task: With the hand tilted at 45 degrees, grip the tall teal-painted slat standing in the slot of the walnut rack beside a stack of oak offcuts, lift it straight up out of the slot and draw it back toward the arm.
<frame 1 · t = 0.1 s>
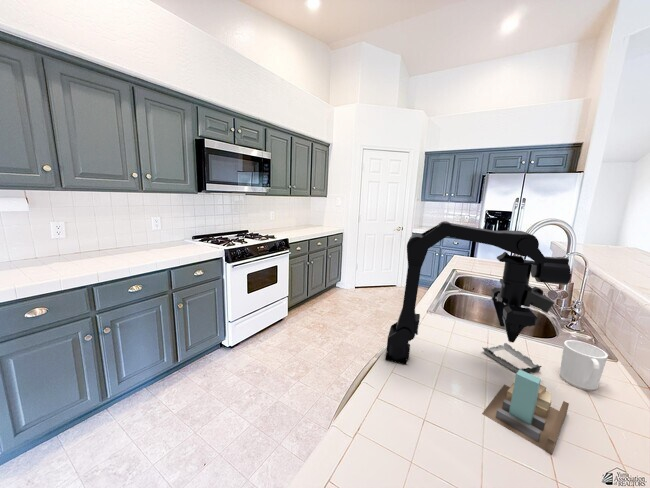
hand: (506, 333, 74), 15 cm above the countertop, tool pointing down, fingers open, 9 cm apart
slat: (519, 422, 62), point 1 cm above the countertop, touching rack
mug: (579, 384, 77), on the countertop
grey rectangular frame: (509, 363, 86), on the countertop
rack: (518, 425, 62), on the countertop
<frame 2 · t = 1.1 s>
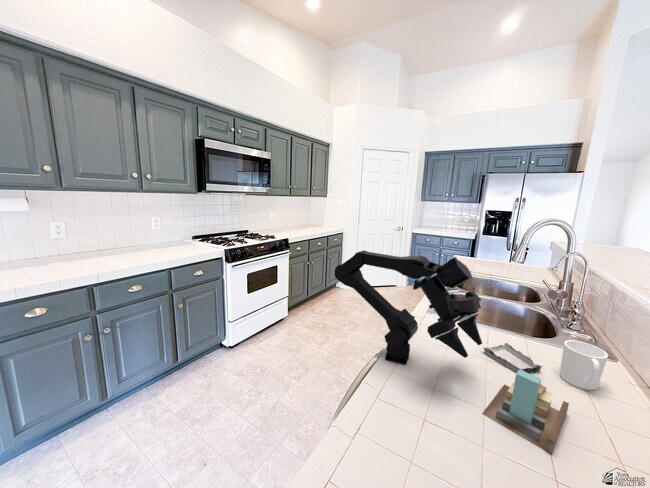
hand: (473, 350, 70), 12 cm above the countertop, tool tilted 45°, fingers open, 9 cm apart
nothing on the countertop moved.
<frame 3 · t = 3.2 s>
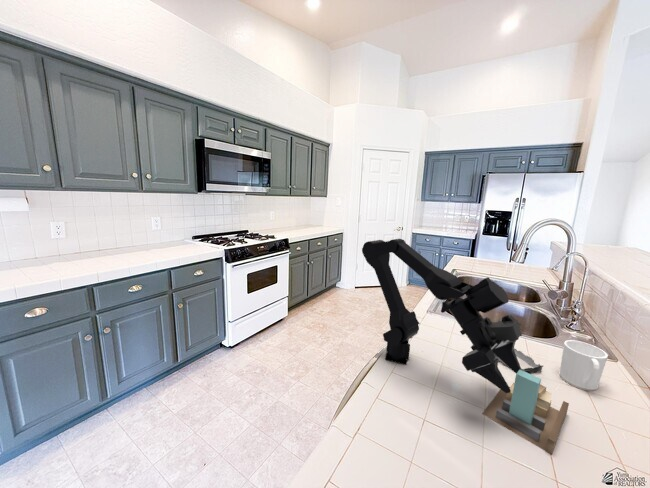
hand: (515, 383, 62), 10 cm above the countertop, tool tilted 45°, fingers open, 9 cm apart
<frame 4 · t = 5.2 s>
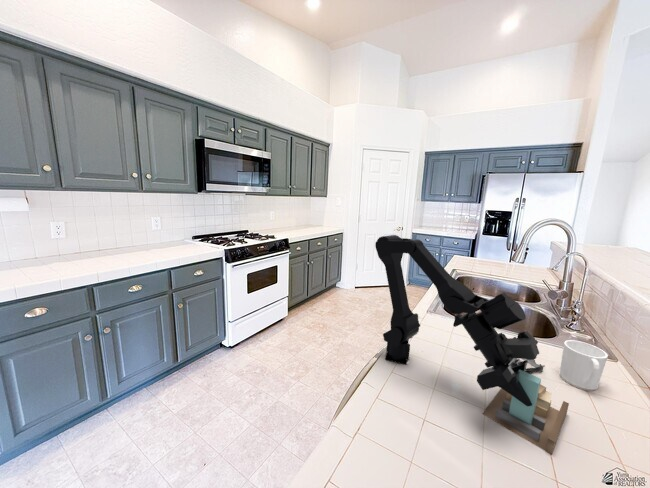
hand: (531, 402, 60), 7 cm above the countertop, tool tilted 45°, fingers closed on slat, 2 cm apart
slat: (519, 422, 62), point 1 cm above the countertop, touching gripper, rack
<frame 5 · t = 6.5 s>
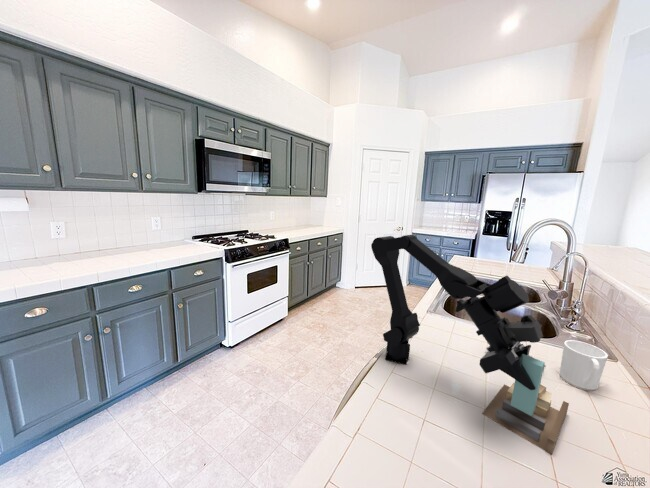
hand: (535, 386, 59), 11 cm above the countertop, tool tilted 45°, fingers closed on slat, 2 cm apart
slat: (522, 407, 61), point 5 cm above the countertop, touching gripper
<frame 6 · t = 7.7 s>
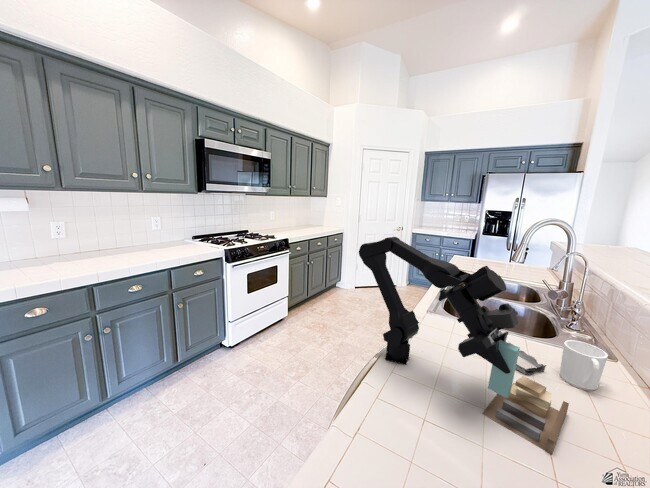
hand: (510, 370, 62), 12 cm above the countertop, tool tilted 45°, fingers closed on slat, 2 cm apart
slat: (498, 390, 64), point 6 cm above the countertop, touching gripper
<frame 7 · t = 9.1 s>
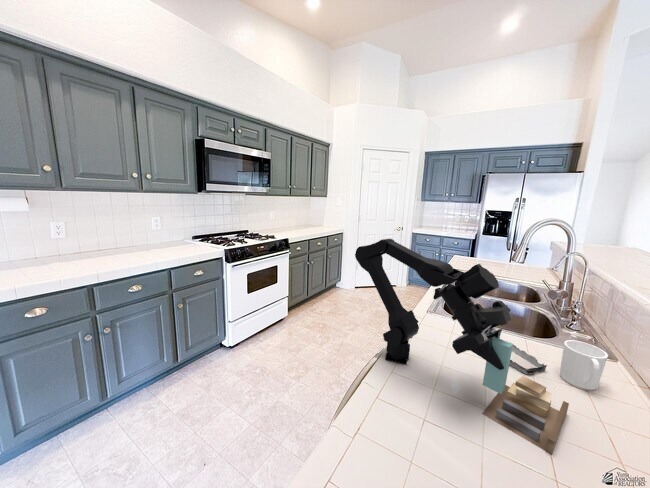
hand: (504, 366, 63), 12 cm above the countertop, tool tilted 45°, fingers closed on slat, 2 cm apart
slat: (493, 387, 65), point 6 cm above the countertop, touching gripper
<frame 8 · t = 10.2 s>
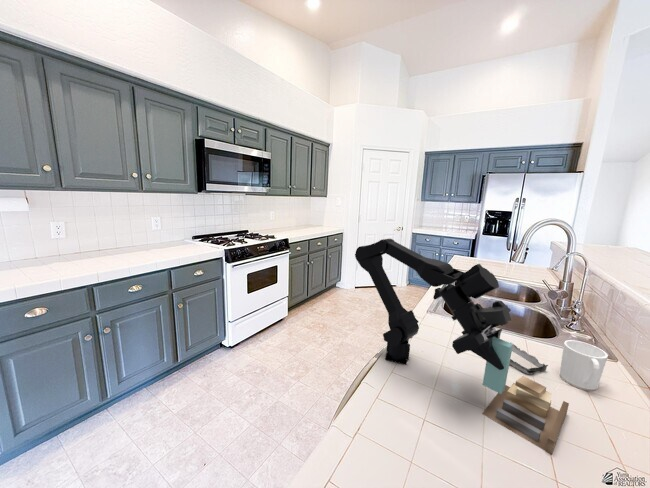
hand: (504, 366, 63), 12 cm above the countertop, tool tilted 45°, fingers closed on slat, 2 cm apart
slat: (493, 387, 65), point 6 cm above the countertop, touching gripper
at the end: the gripper is holding slat; slat point 6.2 cm above the countertop; slat moved 8.1 cm from its start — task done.
